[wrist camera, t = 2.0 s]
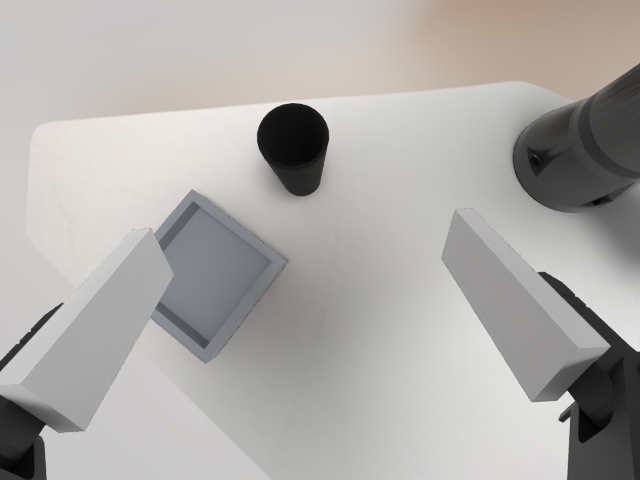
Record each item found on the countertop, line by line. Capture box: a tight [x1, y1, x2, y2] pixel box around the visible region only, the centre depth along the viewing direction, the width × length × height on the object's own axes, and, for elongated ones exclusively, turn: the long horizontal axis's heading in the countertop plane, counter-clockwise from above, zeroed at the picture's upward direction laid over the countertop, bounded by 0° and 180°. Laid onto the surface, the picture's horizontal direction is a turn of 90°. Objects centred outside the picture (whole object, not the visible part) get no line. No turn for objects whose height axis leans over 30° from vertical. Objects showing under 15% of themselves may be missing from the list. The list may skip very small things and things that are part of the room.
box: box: [150, 189, 288, 364], centre depth 37 cm, size 16×16×4 cm
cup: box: [257, 103, 329, 196], centre depth 35 cm, size 8×8×12 cm
